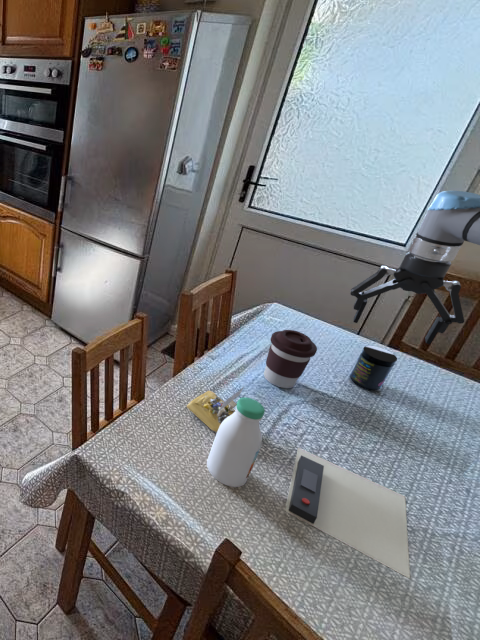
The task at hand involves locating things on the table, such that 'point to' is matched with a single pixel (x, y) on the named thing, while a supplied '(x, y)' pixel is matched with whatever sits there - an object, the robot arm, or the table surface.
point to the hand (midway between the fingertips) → (390, 330)
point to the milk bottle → (237, 444)
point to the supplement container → (372, 368)
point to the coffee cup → (288, 357)
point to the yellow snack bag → (213, 408)
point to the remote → (306, 489)
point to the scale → (360, 514)
